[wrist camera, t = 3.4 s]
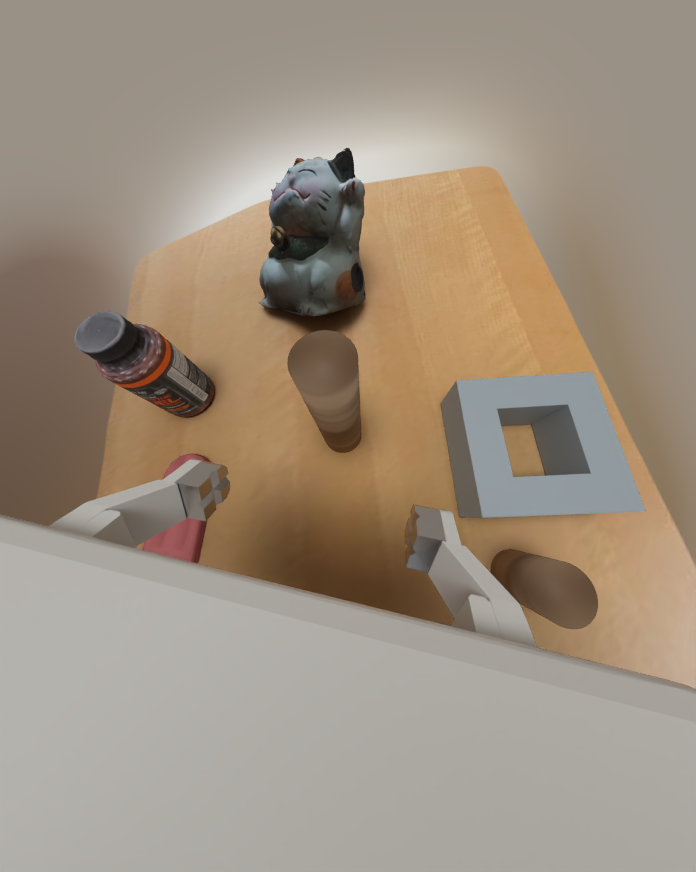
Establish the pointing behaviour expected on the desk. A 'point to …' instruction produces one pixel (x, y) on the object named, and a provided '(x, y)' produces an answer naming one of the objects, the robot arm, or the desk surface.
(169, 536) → the popsicle
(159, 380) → the supplement bottle
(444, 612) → the desk surface
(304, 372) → the long pin
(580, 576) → the short pin
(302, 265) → the lucky cat figurine
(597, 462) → the socket block
